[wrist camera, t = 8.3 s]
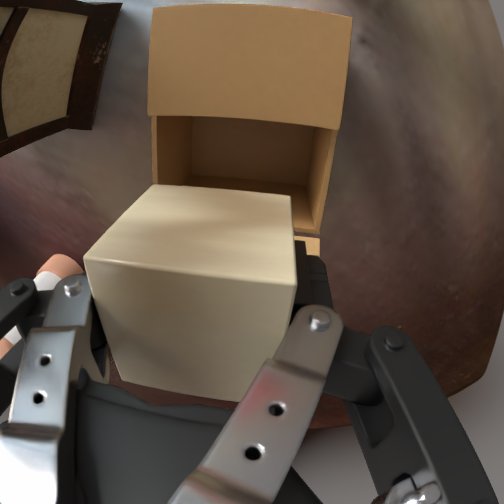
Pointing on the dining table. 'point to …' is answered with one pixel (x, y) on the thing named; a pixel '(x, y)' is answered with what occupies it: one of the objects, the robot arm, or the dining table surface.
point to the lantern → (50, 66)
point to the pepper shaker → (44, 280)
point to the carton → (248, 100)
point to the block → (196, 287)
